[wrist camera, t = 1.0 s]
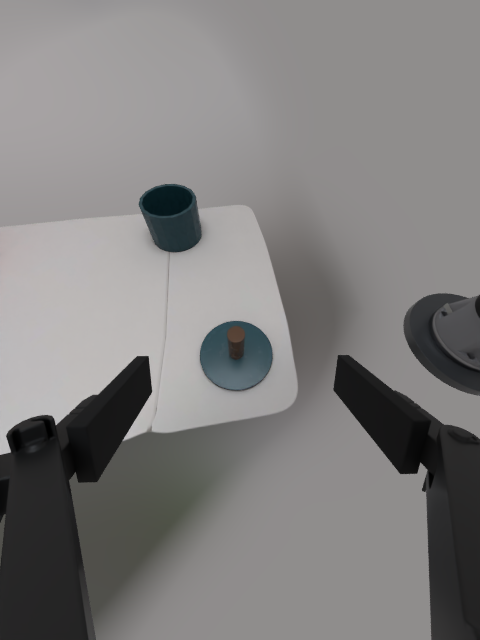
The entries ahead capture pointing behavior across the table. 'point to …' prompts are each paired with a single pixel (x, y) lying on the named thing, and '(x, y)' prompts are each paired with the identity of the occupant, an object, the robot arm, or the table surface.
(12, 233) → the table surface
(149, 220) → the pot
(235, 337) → the lid
